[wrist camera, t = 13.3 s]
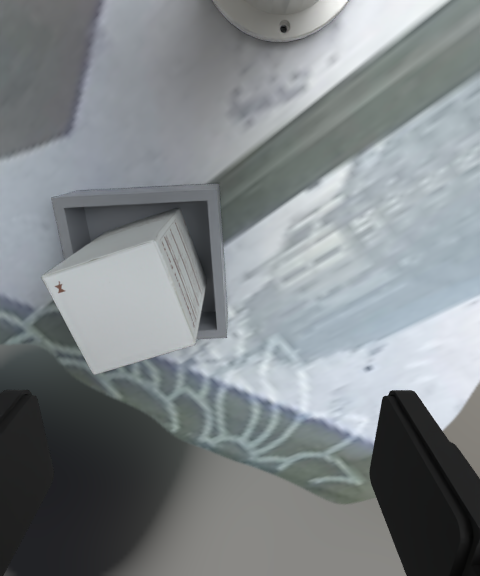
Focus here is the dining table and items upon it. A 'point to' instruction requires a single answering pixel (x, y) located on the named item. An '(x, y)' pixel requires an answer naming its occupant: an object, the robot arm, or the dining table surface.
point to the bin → (144, 203)
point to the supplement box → (131, 292)
